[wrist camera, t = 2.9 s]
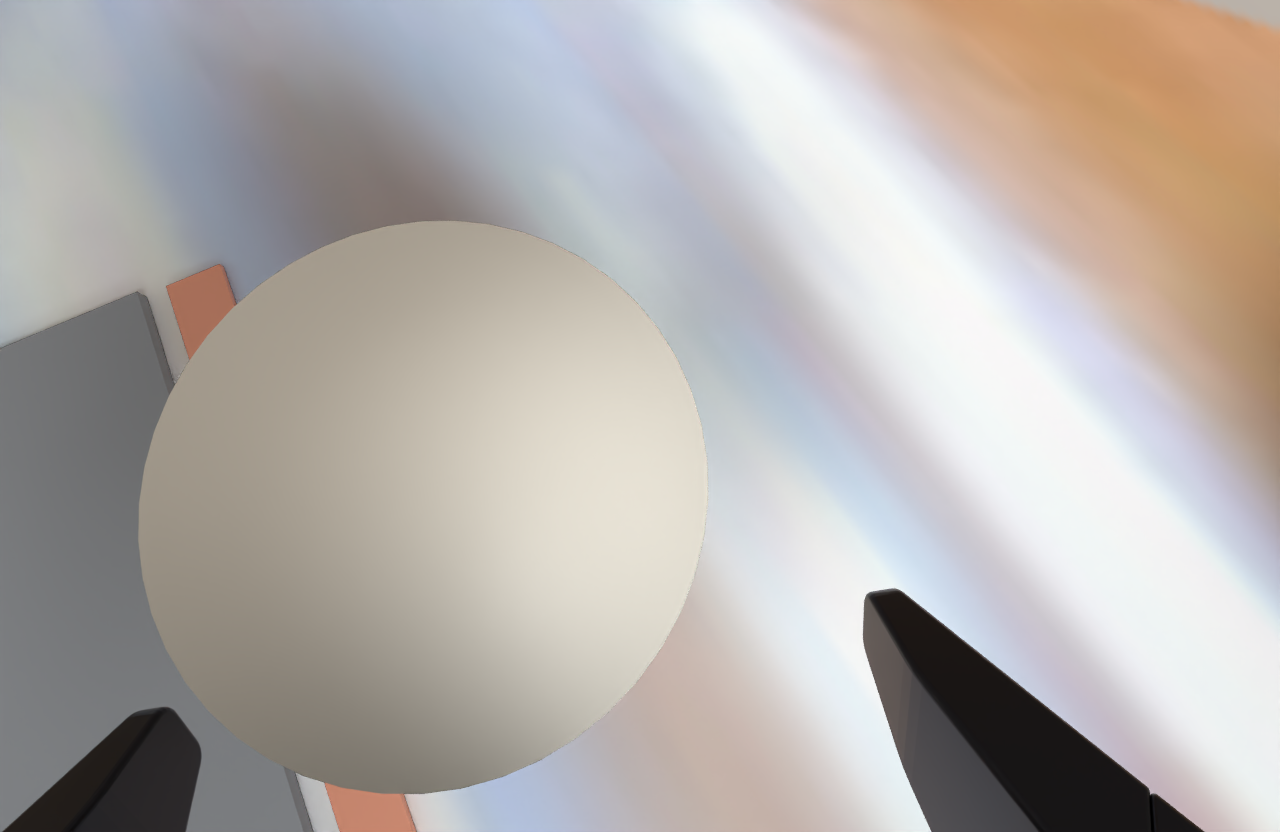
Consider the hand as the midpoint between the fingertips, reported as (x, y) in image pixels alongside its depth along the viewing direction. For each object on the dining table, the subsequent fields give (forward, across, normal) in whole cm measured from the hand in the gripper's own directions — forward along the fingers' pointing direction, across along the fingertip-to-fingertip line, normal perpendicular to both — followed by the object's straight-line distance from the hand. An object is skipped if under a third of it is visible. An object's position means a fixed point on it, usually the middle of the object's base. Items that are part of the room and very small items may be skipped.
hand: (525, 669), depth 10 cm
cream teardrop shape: (+8, 0, +5) cm, 10 cm away
